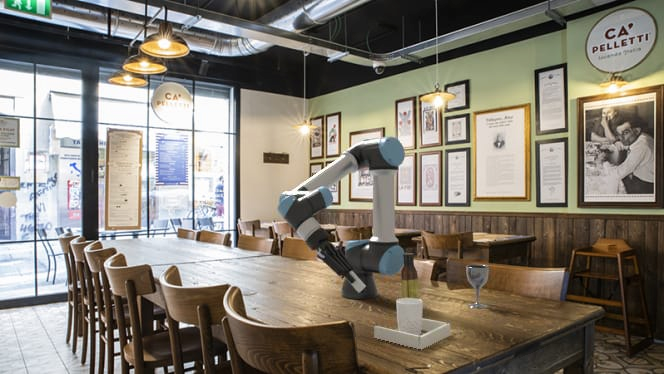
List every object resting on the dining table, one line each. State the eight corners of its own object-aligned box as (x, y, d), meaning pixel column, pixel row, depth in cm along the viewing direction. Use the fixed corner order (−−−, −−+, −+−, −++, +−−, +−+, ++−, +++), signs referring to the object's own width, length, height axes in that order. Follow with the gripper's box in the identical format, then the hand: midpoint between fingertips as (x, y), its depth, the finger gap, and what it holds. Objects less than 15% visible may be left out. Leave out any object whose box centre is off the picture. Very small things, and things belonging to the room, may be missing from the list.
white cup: (423, 339, 130) (422, 304, 130) (395, 337, 131) (395, 303, 132) (422, 331, 138) (422, 298, 138) (397, 329, 139) (396, 297, 139)
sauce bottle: (420, 305, 169) (420, 252, 170) (416, 309, 164) (416, 254, 164) (403, 303, 172) (403, 252, 172) (399, 307, 166) (399, 254, 167)
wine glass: (463, 303, 172) (463, 264, 172) (483, 303, 173) (483, 264, 173) (471, 309, 164) (471, 268, 164) (492, 308, 165) (492, 267, 165)
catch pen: (374, 338, 130) (374, 326, 130) (405, 325, 143) (405, 314, 143) (421, 350, 120) (421, 337, 120) (450, 335, 133) (450, 323, 133)
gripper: (315, 240, 153) (362, 292, 146) (296, 245, 142) (346, 302, 135) (329, 224, 151) (377, 277, 144) (311, 228, 139) (362, 286, 132)
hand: (362, 289), depth 139 cm, fingers closed
